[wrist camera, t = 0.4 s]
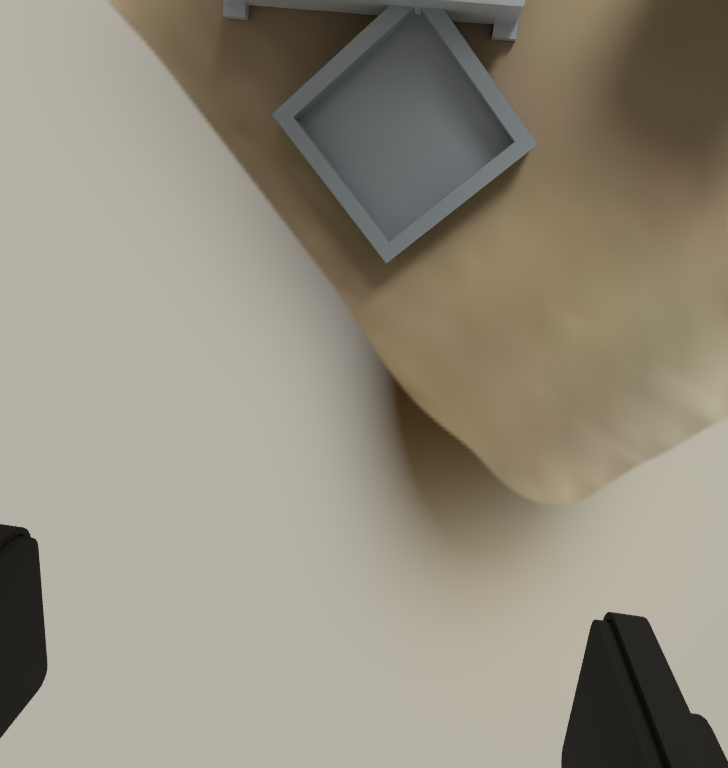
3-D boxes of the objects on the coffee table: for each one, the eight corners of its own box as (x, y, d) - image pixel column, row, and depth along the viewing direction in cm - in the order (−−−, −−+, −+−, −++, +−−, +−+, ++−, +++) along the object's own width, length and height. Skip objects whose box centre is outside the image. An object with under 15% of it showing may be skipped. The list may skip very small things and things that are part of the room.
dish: (282, 118, 36) (271, 114, 34) (422, -10, 33) (420, -24, 31) (389, 258, 38) (386, 263, 35) (531, 146, 35) (537, 144, 33)
